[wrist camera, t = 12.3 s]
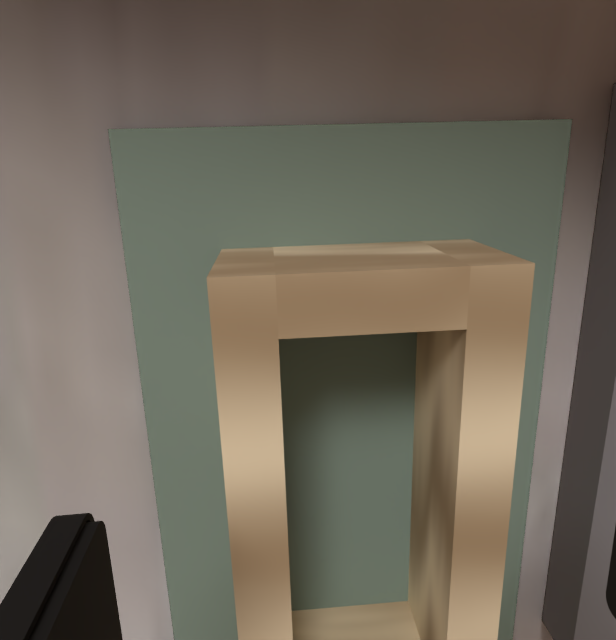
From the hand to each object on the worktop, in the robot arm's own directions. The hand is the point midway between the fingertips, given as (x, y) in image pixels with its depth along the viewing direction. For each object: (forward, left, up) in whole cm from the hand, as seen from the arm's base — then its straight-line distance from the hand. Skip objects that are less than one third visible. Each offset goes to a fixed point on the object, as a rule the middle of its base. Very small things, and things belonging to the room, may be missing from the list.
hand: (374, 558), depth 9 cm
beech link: (-3, -1, -8) cm, 8 cm away
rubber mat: (-3, -1, -8) cm, 9 cm away
